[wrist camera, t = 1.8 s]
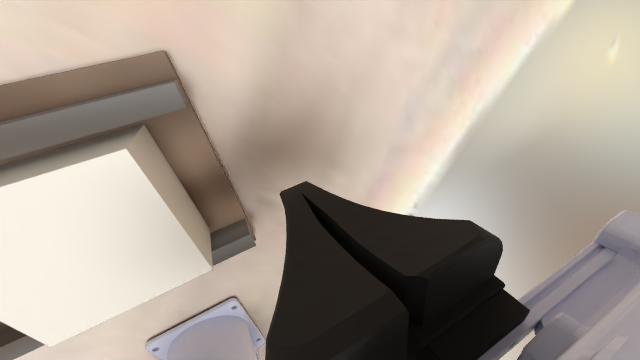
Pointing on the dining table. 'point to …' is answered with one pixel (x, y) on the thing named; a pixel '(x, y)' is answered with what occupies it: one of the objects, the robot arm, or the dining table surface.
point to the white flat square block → (94, 234)
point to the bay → (112, 116)
